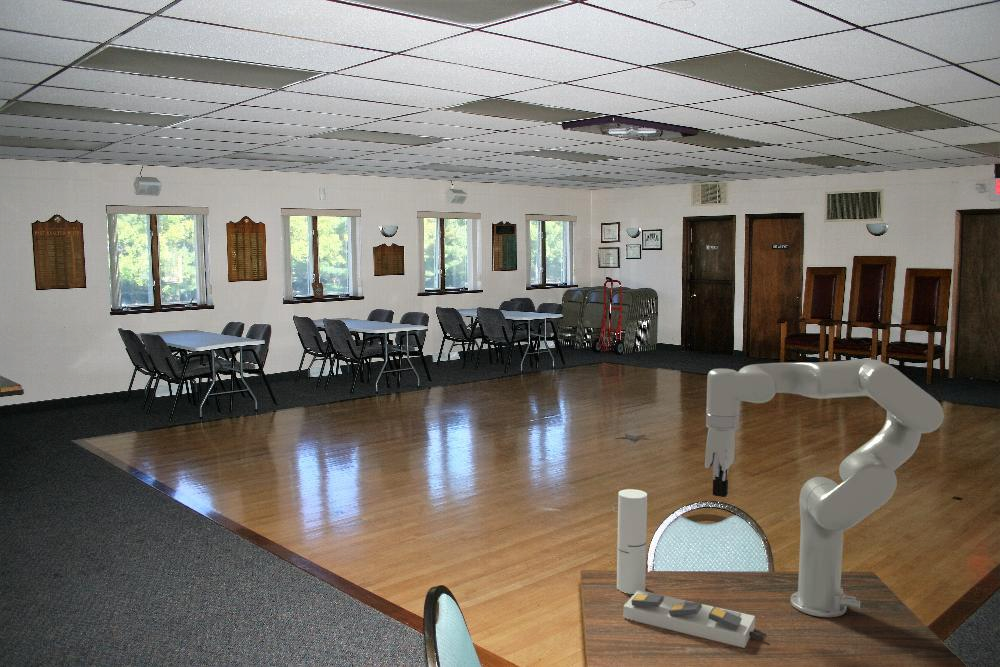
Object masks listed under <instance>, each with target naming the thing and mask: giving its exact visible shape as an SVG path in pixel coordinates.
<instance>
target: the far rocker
mask: <svg viewBox="0 0 1000 667" xmlns="http://www.w3.org/2000/svg"><path fill="white" fill-rule="evenodd" d="M663 595H664V594H659V595H647V594H637V595H636V596H635V597H634V598H633V599H632V600H631V602H632V606H647V607H659V606H660V604H661V603H662V602H663V601H664V599H663Z"/></svg>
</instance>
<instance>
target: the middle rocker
mask: <svg viewBox="0 0 1000 667" xmlns="http://www.w3.org/2000/svg"><path fill="white" fill-rule="evenodd" d="M701 604H702V603H701V602H696V601H695V603H682V604H674V605H673V606H672V607H671V609H670V610H669V614H670V616H680V615H697V614H698V612H699V611H700V609H701V608H702V606H701Z"/></svg>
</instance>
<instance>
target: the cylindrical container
mask: <svg viewBox="0 0 1000 667" xmlns="http://www.w3.org/2000/svg"><path fill="white" fill-rule="evenodd" d="M617 495H618V497H617V550H616V552H617V555H616V556H617V558H616V560H617V561H616V590H617V589H619V590H620V591H622V592H624V593H628V594H635V593H636V591H637V590H641V591H646V571H647V570H646V569H647V568H646V566H647V527H648V526H647V522H648V521H647V520H648V519H647V518H648V493H647V492H646V491H644V490H641V489H632V488H627V489H622V490H619V491H618V494H617ZM620 591H619V592H620ZM624 593H623V594H624ZM628 594H627V595H628Z"/></svg>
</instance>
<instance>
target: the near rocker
mask: <svg viewBox="0 0 1000 667" xmlns="http://www.w3.org/2000/svg"><path fill="white" fill-rule="evenodd" d="M716 607H717V606H713V609H712V610H711V612H710V613H709V617H708V619H711V620H713V621H715V622H718V623H720V624H722V625H725V626H727V627H729V628H732V629H734V630H737V628H738V627H739V625H740V623H741V620H742V618H740V617H738V616H736V615H733V614H731V613H728V612H726V611H724V610H721V609H719V608H720V607H717V608H716Z"/></svg>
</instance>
